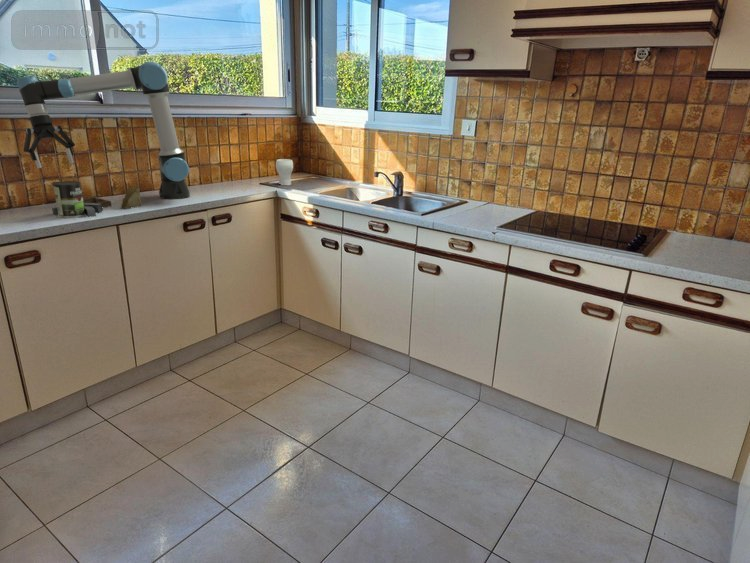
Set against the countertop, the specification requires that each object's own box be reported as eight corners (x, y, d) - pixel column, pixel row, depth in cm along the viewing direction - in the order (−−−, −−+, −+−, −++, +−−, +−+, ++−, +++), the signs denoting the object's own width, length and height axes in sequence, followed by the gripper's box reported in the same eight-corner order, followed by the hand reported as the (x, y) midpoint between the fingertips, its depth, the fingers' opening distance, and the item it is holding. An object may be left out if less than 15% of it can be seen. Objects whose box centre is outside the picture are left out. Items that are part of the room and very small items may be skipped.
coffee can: (91, 214, 219) (86, 182, 215) (73, 219, 210) (68, 185, 205) (70, 212, 221) (65, 180, 217) (52, 216, 212) (46, 183, 207)
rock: (122, 205, 227) (145, 200, 233) (115, 189, 228) (137, 184, 233) (121, 216, 236) (142, 210, 241) (113, 200, 236) (135, 195, 242)
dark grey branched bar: (92, 217, 214) (91, 209, 213) (49, 214, 216) (47, 206, 215) (108, 211, 225) (106, 204, 224) (66, 209, 226) (65, 201, 225)
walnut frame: (111, 206, 236) (110, 201, 235) (81, 210, 225) (80, 205, 224) (96, 202, 243) (95, 197, 242) (65, 206, 232) (64, 201, 232)
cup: (292, 186, 306) (291, 161, 301) (274, 185, 306) (274, 160, 301) (294, 183, 316) (294, 159, 311) (278, 182, 316) (277, 158, 311)
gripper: (65, 114, 225) (80, 162, 231) (3, 119, 206) (21, 170, 212) (72, 112, 221) (88, 160, 227) (9, 116, 202) (29, 169, 208)
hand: (56, 165), depth 220 cm, fingers open, 13 cm apart
